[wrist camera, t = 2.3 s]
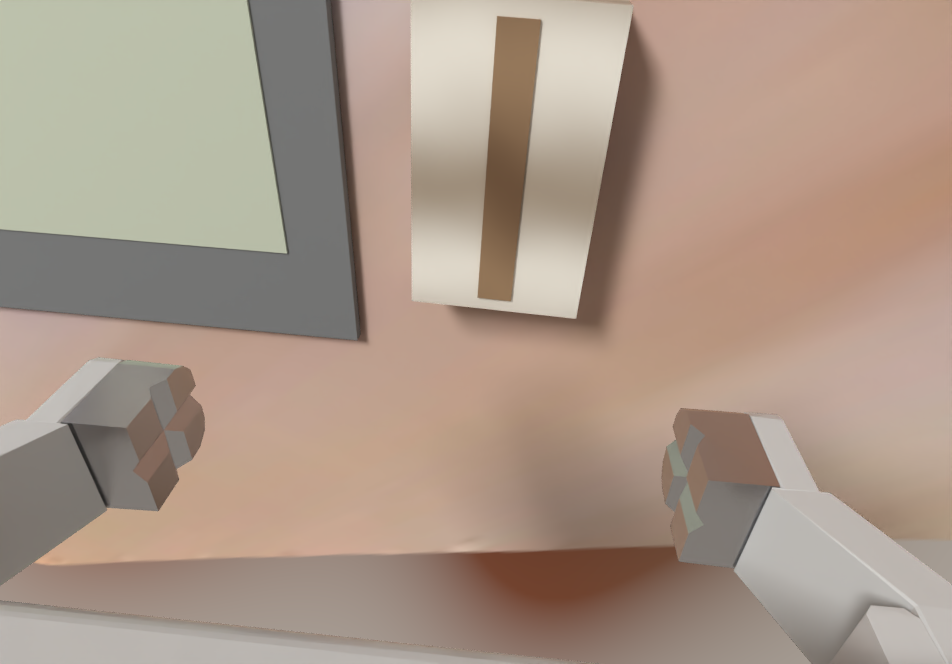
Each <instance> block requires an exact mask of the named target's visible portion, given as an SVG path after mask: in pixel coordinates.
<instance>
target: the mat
mask: <svg viewBox="0 0 952 664" xmlns="http://www.w3.org/2000/svg"><path fill="white" fill-rule="evenodd" d="M0 307H8V308H19V309H30V310H40V311H51V312H61V313H72V314H83V315H93V316H104V317H115V318H125V319H136V320H146V321H157V322H168V323H178V324H189V325H200V326H210V327H221V328H232V329H242V330H253V331H263V332H274V333H285V334H295V335H306V336H317V337H327V338H338V339H349V340H358V338H359V336H360V323H359V312H358V301H357V290H356V278H355V267H354V256H353V245H352V233H351V222H350V211H349V200H348V189H347V177H346V166H345V155H344V144H343V133H342V121H341V110H340V99H339V88H338V77H337V65H336V54H335V43H334V32H333V21H332V9H331V0H0Z"/></svg>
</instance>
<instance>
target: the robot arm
mask: <svg viewBox="0 0 952 664" xmlns="http://www.w3.org/2000/svg"><path fill="white" fill-rule="evenodd" d="M195 386H196V385H195V382H194V379H193V376H192V373H191V370H190V369H188V368H186V367H184V366H179V365H170V364H161V363H151V362H142V361H133V360H119V359H109V358H100V357H99V358H96V359H92V360H89V361H88V362H87V363H86V364H85V365H83V366H82V367H81V368H80V369H79V370H78V371H77V372H76V373H75V374H74V375H73V376H72V377H71V378H70V379H69V380H68V381H67V382H66V383H65V384H63V385H62V386H61V387H60V388H59V389H58V390H57V391H56V392H55V393H54V394H53V395H52V396H51V397H50V398H49V399H48V400H47V401H46V402H44V403H43V404H42V405H41V406H40V407H39V408H38V409H37V410H36V411H35V412H34V413H33V414H32V415H31V416H30V417H29V418H28V419H27V420H14V421H12V422H9V423H7V424H5V425H2V426H0V586H1V585H2V584H4V583H5V582H7V581H8V580H9V579H11V578H12V577H14V576H15V575H16V574H18V573H19V572H21V571H22V570H24V569H25V568H26V567H28V566H29V565H31V564H32V563H33V562H35V561H36V560H38V559H39V558H40V557H42V556H43V555H45V554H46V553H48V552H49V551H50V550H52V549H53V548H55V547H56V546H57V545H59V544H60V543H62V542H63V541H64V540H66V539H67V538H69V537H70V536H72V535H73V534H74V533H76V532H77V531H79V530H80V529H81V528H83V527H84V526H86V525H87V524H88V523H90V522H91V521H93V520H94V519H96V518H97V517H98V516H100V515H101V514H103V513H104V512H105V511H107V508H120V509H134V510H149V511H159V510H160V508H161V506H162V505H163V503H164V502H165V500H166V499H167V497H168V496H169V494H170V493H171V491H172V490H173V488H174V487H175V485H176V484H177V482H178V481H179V477H178V472H177V468H179V467H181V466H182V465H184V464H186V463H187V462H189V461H191V460H192V459H193V458H194V456H195V454H196V453H197V451H198V449H199V448H200V446H201V442H202V439H203V435H204V431H205V417H204V413H203V409H202V406H201V405H200V404H199V403H198V402H197V401H196V400H195V399H194V398H193V397H192V396H191V395H190V394H191V392H192V391H193V389H194V388H195ZM673 429H674V433H675V437H676V440H675V441H674V442H672V443H671V444H670V445H668V446H667V447H666V451H665V455H664V459H663V466H662V489H663V495H664V499H665V503H666V504H667V505H668V506H669V507H670V508H671V509H672V510H673V511H674V512H675V513H674V516H673V519H672V522H671V525H670V527H671V531H672V535H673V540H674V544H675V548H676V553H677V557H678V561H680V562H687V563H695V564H703V565H711V566H719V567H728V568H735V569H734V572H735V573H736V574H737V575H738V577H739V578H740V579H741V580H742V581H743V583H744V584H745V585H746V586H747V587H748V588H749V590H750V591H751V592H752V593H753V594H754V596H755V597H756V598H757V599H758V600H759V601H760V603H761V604H762V605H763V606H764V607H765V609H766V610H767V611H768V612H769V613H770V615H771V616H772V617H773V618H774V619H775V621H776V622H777V623H778V624H779V625H780V626H781V628H782V629H783V630H784V631H785V632H786V634H787V635H788V636H789V637H790V638H791V640H792V641H793V642H794V643H795V644H796V646H797V647H798V648H799V649H800V650H801V651H802V653H803V654H804V655H805V656H806V657H807V659H808V660H809V661H810V662H811V663H812V664H952V584H951V583H949V582H948V581H947V580H945V579H944V578H943V577H941V576H940V575H939V574H937V573H936V572H935V571H933V570H932V569H931V568H929V567H928V566H927V565H925V564H924V563H923V562H921V561H920V560H919V559H917V558H916V557H915V556H913V555H912V554H911V553H909V552H908V551H907V550H905V549H904V548H903V547H901V546H900V545H899V544H897V543H896V542H895V541H893V540H892V539H891V538H889V537H888V536H887V535H885V534H884V533H883V532H881V531H880V530H879V529H877V528H876V527H875V526H873V525H872V524H871V523H869V522H868V521H867V520H865V519H864V518H863V517H861V516H860V515H859V514H857V513H856V512H855V511H853V510H852V509H851V508H849V507H848V506H847V505H845V504H844V503H843V502H841V501H840V500H839V499H837V498H836V497H835V496H833V495H832V494H831V493H826V492H820V491H819V489H818V487H817V485H816V483H815V481H814V479H813V477H812V476H811V474H810V472H809V470H808V468H807V466H806V464H805V462H804V460H803V458H802V456H801V454H800V452H799V450H798V448H797V446H796V444H795V442H794V440H793V439H792V437H791V435H790V433H789V431H788V429H787V427H786V425H785V423H784V421H783V419H782V418H781V417H779V416H778V415H777V414H763V413H747V412H745V413H737V412H724V411H711V410H698V409H686V408H681V409H680V410H679V412H678V413H677V415H676V418H675V421H674V424H673ZM0 664H599V663H588V662H578V661H569V660H560V659H551V658H541V657H531V656H522V655H512V654H502V653H493V652H483V651H473V650H464V649H454V648H445V647H434V646H425V645H416V644H407V643H397V642H388V641H378V640H369V639H359V638H349V637H340V636H332V635H331V636H330V635H322V634H313V633H304V632H294V631H284V630H275V629H266V628H256V627H247V626H238V625H229V624H219V623H210V622H200V621H191V620H181V619H171V618H162V617H153V616H144V615H134V614H124V613H115V612H105V611H96V610H87V609H77V608H68V607H57V606H49V605H39V604H29V603H20V602H11V601H1V600H0Z"/></svg>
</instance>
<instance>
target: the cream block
mask: <svg viewBox="0 0 952 664" xmlns="http://www.w3.org/2000/svg"><path fill="white" fill-rule="evenodd" d="M632 12H633V4H632V3H631V2H630V1H629V0H411V209H412V301H417V302H426V303H436V304H445V305H454V306H463V307H472V308H481V309H491V310H500V311H509V312H518V313H527V314H537V315H546V316H555V317H564V318H573V319H576V316H577V311H578V305H579V300H580V294H581V289H582V283H583V278H584V272H585V267H586V262H587V256H588V251H589V245H590V240H591V234H592V229H593V224H594V218H595V213H596V207H597V202H598V196H599V191H600V186H601V180H602V175H603V169H604V164H605V158H606V153H607V148H608V142H609V137H610V131H611V126H612V120H613V115H614V110H615V104H616V99H617V93H618V88H619V82H620V77H621V71H622V66H623V61H624V55H625V50H626V44H627V39H628V33H629V28H630V23H631V17H632Z"/></svg>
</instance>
